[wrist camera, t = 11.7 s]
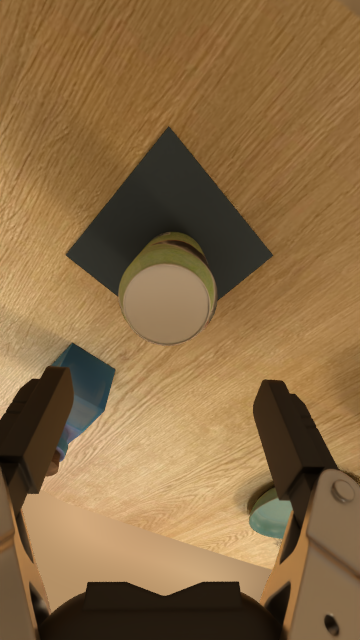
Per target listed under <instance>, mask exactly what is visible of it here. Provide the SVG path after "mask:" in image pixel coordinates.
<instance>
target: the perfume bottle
mask: <svg viewBox="0 0 360 640" xmlns="http://www.w3.org/2000/svg"><path fill="white" fill-rule="evenodd" d="M51 366H57V367H69V368H70V372H71V378H72V384H73V389H74V401H73V406H72V409H71V412H70V414H69V417H68V419H67V422H66V424H65V427H64V430H63V432H62V435H61V437H60V440H59V442H58V445H57V448H56V450H55V453H54V455H53V458H52V460H51V463H50V466H49V468H48V471H47V473H46V476H52V475H54V474H56V473H57V472H58V468H59V462H61V461H62V460H63V459H64V458H65V455H66V452H67V449H68V444H69V443H70V442H71V441H72V440H74V439H75V438H76V437H78V436H79V435H80V434H81V433H83V432H84V431H85V430H86V429H87V428H88V427H89V426H90V425H91V424H92V423H93V422H94V421H95V420H96V419H97V418H98V417H99V416H100V415H101V414H102V413H103V412H104V411H105V407H106V403H107V399H108V396H109V392H110V388H111V384H112V380H113V377H114V373H115V369H114V368H112V367H110V366H109V365H107V364H106V363H104V362H102V361H101V360H99V359H97V358H96V357H94V356H93V355H91V354H89V353H88V352H86V351H85V350H83V349H81V348H80V347H78V346H77V345H75V344H73V343H72V344H71V345H70V346H69V347H68V348H67V349H66V350H65V351H64V352H63V353H62V354H61V355H60V357H59V358H58V359H57V360H56V361H55V362H54V363H53V364H52V365H51Z"/></svg>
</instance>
